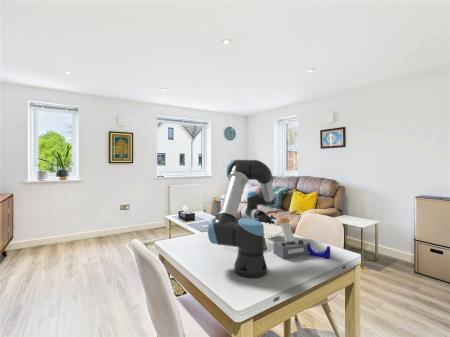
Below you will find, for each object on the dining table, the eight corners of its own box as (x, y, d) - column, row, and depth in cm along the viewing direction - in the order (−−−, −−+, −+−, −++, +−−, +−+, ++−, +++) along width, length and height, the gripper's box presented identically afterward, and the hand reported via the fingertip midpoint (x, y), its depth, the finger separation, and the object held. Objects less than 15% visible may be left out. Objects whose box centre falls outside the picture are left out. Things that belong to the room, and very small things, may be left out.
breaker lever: (288, 242, 131) (279, 218, 138) (285, 244, 133) (277, 220, 140) (296, 241, 133) (288, 217, 140) (293, 243, 135) (285, 219, 142)
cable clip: (330, 256, 131) (330, 245, 131) (329, 259, 127) (329, 248, 127) (307, 252, 137) (307, 241, 137) (305, 254, 133) (306, 244, 133)
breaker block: (283, 259, 126) (283, 245, 125) (273, 253, 134) (273, 239, 134) (308, 255, 131) (308, 241, 131) (296, 249, 140) (297, 236, 140)
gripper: (266, 220, 169) (287, 228, 147) (250, 221, 164) (268, 230, 142) (266, 209, 169) (287, 216, 147) (250, 210, 164) (268, 218, 142)
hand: (278, 223), depth 144 cm, fingers closed
